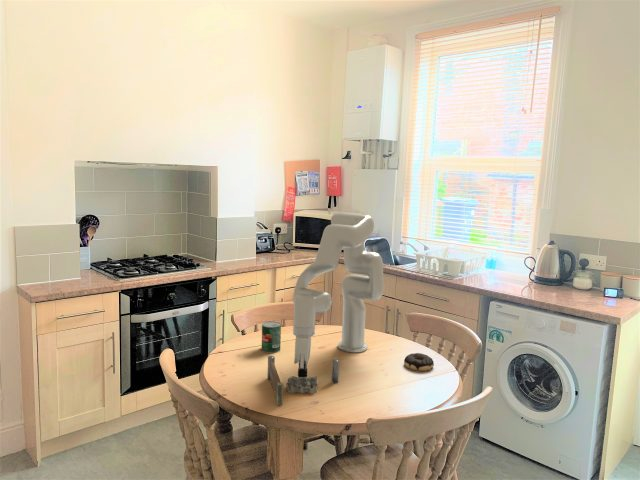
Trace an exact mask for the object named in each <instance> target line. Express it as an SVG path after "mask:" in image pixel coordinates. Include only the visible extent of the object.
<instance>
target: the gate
mask: <svg viewBox="0 0 640 480" xmlns="http://www.w3.org/2000/svg"><path fill="white" fill-rule="evenodd" d="M270 383H271V386H272V389H273V392H274V395H275V398H276V405H277V406H283V397H284V396H283V395H284V393H283V392H284V389H283V387H284V386H283V385H284V384H283V382H282V381H281V378H280V375H279V374H278V371H277V368H276V365H274V362H270Z"/></svg>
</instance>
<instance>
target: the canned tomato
mask: <svg viewBox="0 0 640 480" xmlns="http://www.w3.org/2000/svg"><path fill="white" fill-rule="evenodd" d="M281 334H282V323H281V322H279V321H275V320H273V321H264V322H262V324H261V351H262V352H263V351H264V352H263V353H266V352H268V354H275V353H279V352H280V351H281V339H282V338H281ZM278 351H279V352H278Z"/></svg>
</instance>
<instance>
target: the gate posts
mask: <svg viewBox="0 0 640 480" xmlns="http://www.w3.org/2000/svg"><path fill="white" fill-rule="evenodd" d="M275 357H276V356H274V355H270V356H268V357H267V380H268V381H269V380H270V362H274V365H275ZM331 364H332V366H331V383H332V384H338V383H339V375H340V372H339V371H340V359H336V358H334V359H332V361H331ZM275 366H276V365H275ZM270 381H271V380H270Z"/></svg>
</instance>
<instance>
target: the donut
mask: <svg viewBox="0 0 640 480" xmlns="http://www.w3.org/2000/svg"><path fill="white" fill-rule="evenodd" d="M403 364H404V365H405V367H406V368H408V369H409V370H412V371H415V370H416V371H417V372H428V371H430V370H432V369H433V367H434V366H435V365H434V364H435V363H434V360H433V358H432V357H430V356H429V355H427V354H426V353H425V354H424V353H420V352H416V353H409V354H407V355H406V356H405V358H404V360H403ZM431 368H432V369H431ZM427 370H428V371H427Z"/></svg>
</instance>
